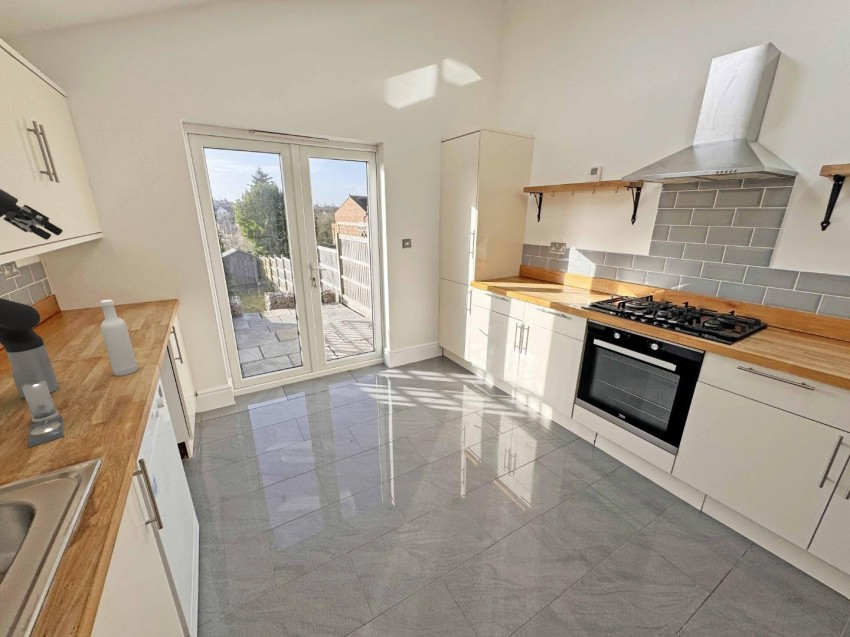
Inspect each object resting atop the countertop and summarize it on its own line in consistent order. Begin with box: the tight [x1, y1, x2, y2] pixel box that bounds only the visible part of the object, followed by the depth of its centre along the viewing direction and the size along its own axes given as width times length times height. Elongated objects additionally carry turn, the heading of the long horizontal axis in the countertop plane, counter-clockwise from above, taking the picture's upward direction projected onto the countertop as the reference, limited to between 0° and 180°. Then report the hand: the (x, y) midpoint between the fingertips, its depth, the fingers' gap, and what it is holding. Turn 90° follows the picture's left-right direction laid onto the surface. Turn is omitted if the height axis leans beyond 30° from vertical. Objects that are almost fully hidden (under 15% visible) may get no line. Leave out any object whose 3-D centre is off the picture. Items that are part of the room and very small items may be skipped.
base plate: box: [27, 415, 65, 448], centre depth 107 cm, size 12×7×2 cm, turn 44°
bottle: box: [100, 299, 139, 377], centre depth 143 cm, size 8×8×30 cm
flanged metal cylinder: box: [22, 380, 60, 424], centre depth 114 cm, size 6×6×12 cm
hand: (55, 235), depth 116 cm, fingers open, 8 cm apart
